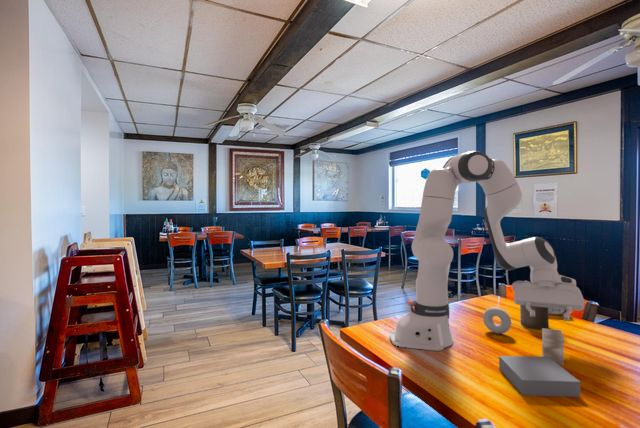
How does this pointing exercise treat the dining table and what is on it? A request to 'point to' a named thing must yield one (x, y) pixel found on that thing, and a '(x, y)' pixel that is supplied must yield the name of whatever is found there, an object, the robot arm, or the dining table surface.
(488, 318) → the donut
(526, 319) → the pillar candle
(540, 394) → the grey plinth
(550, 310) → the tin
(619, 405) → the dining table surface
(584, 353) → the dining table surface
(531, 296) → the robot arm
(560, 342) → the grey upright block
